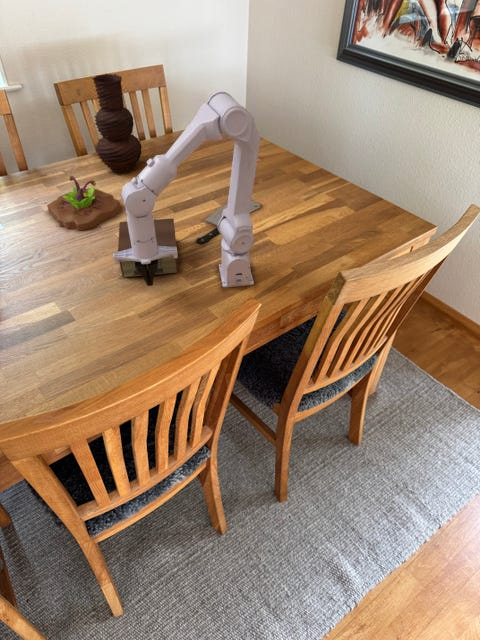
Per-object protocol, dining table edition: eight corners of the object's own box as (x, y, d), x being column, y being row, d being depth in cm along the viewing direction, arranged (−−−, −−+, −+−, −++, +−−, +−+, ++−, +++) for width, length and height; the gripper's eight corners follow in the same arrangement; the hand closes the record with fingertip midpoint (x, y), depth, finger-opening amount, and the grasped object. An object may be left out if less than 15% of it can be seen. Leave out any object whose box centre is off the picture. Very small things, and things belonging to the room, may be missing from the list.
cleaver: (177, 234, 135) (203, 246, 130) (177, 232, 134) (203, 244, 130) (238, 196, 152) (263, 205, 147) (238, 194, 151) (263, 204, 147)
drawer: (178, 286, 116) (176, 268, 112) (123, 291, 114) (119, 273, 110) (173, 243, 130) (172, 225, 126) (125, 247, 128) (122, 229, 124)
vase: (92, 175, 161) (71, 82, 141) (113, 157, 172) (97, 68, 151) (132, 181, 158) (117, 88, 137) (151, 162, 169) (140, 73, 148)
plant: (90, 189, 154) (83, 156, 146) (129, 209, 145) (123, 175, 137) (38, 213, 142) (26, 179, 135) (76, 236, 134) (67, 201, 126)
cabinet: (179, 272, 122) (176, 248, 117) (122, 277, 120) (117, 253, 115) (175, 241, 132) (173, 218, 127) (124, 245, 130) (119, 222, 125)
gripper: (109, 248, 99) (119, 296, 108) (176, 242, 101) (181, 290, 110) (110, 230, 104) (120, 278, 114) (174, 225, 106) (179, 273, 116)
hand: (150, 283), depth 112 cm, fingers closed, pressing on drawer
